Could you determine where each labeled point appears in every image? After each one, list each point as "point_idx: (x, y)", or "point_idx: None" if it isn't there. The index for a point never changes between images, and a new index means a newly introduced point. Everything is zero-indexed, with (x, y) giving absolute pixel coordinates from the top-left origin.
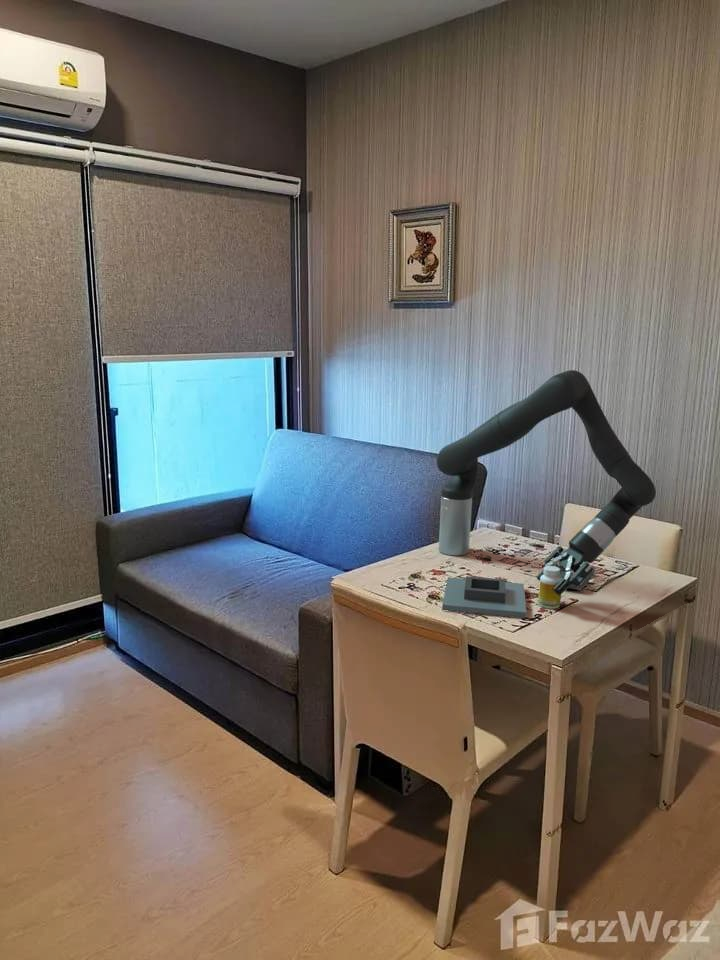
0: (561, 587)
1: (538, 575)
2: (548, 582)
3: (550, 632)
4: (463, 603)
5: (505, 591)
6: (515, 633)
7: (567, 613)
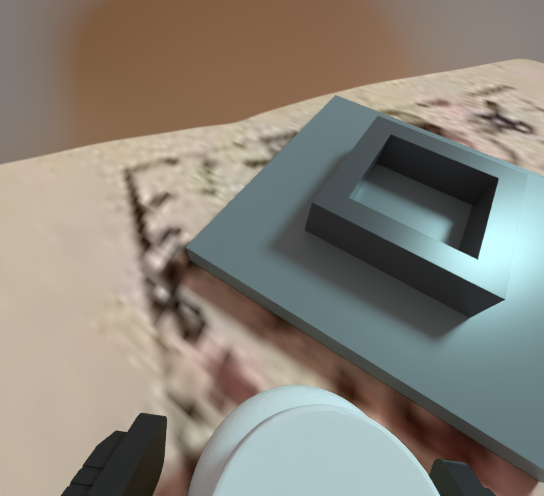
0: (80, 471)
1: (469, 478)
2: (233, 411)
3: (36, 266)
4: (331, 130)
5: (332, 212)
6: (115, 172)
7: None
